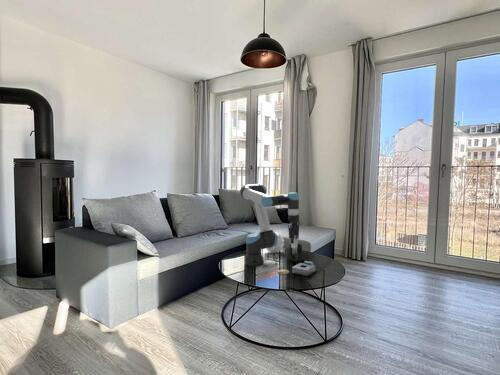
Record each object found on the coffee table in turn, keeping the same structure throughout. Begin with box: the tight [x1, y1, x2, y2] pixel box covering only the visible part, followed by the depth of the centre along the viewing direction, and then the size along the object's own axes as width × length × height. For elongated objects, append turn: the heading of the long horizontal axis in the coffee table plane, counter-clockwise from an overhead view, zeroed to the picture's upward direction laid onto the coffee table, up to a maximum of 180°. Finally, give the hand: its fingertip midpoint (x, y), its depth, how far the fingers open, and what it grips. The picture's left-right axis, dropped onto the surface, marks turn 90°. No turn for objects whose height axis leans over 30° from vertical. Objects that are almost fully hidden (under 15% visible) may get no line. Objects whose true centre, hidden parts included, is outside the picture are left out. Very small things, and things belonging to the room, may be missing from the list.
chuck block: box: [291, 260, 316, 277], centre depth 207 cm, size 12×15×5 cm
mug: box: [284, 243, 303, 262], centre depth 235 cm, size 11×15×12 cm
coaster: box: [277, 269, 290, 275], centre depth 207 cm, size 8×8×1 cm
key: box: [292, 235, 300, 254], centre depth 206 cm, size 3×6×13 cm, turn 54°
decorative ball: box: [265, 230, 285, 254], centre depth 258 cm, size 20×17×20 cm
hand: (294, 247), depth 206 cm, fingers closed on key, 3 cm apart
